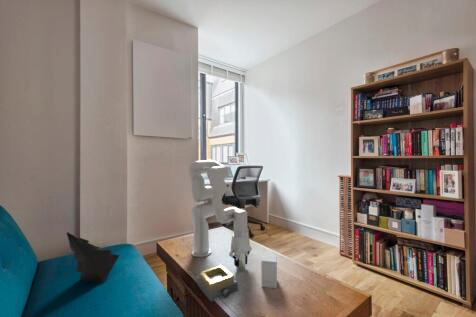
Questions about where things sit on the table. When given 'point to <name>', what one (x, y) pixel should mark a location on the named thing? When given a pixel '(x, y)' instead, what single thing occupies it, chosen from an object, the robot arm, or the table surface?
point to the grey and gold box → (216, 282)
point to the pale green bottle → (241, 262)
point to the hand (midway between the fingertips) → (240, 264)
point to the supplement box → (269, 271)
